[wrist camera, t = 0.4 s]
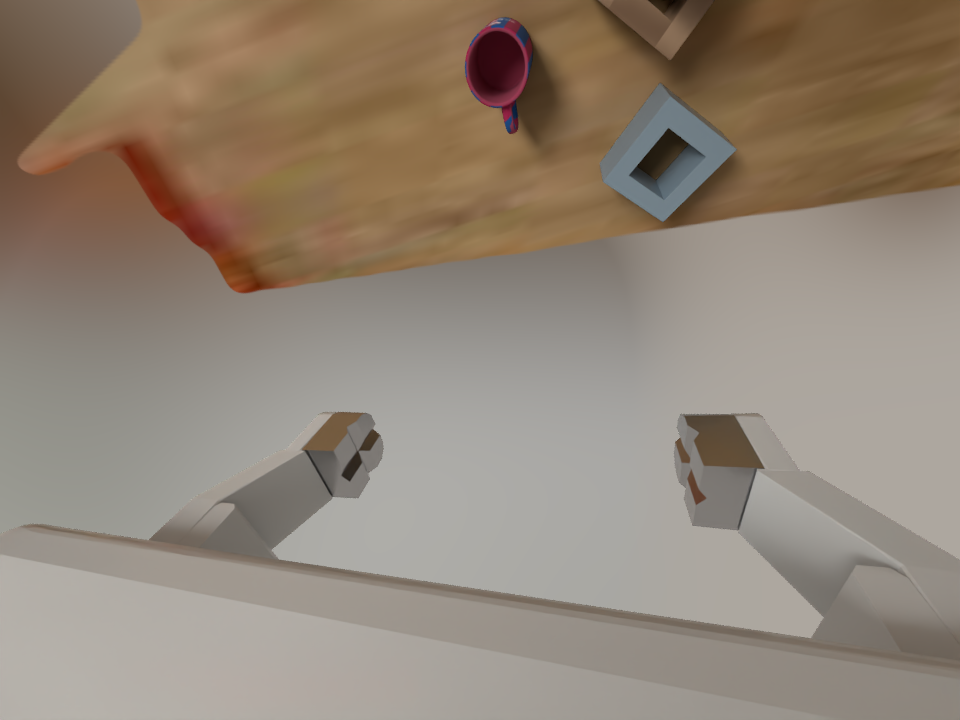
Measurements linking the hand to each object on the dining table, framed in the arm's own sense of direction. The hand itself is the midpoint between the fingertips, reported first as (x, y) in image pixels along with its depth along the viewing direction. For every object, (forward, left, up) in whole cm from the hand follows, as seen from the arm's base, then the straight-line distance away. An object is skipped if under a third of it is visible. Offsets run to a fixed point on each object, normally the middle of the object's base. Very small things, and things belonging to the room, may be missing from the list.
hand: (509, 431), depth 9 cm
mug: (+3, -4, -49) cm, 49 cm away
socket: (0, +17, -49) cm, 51 cm away
